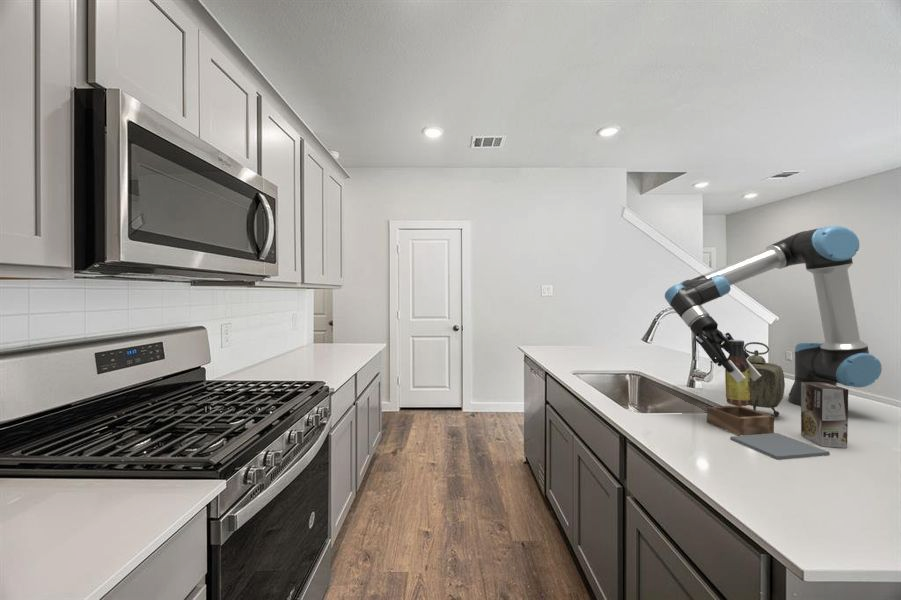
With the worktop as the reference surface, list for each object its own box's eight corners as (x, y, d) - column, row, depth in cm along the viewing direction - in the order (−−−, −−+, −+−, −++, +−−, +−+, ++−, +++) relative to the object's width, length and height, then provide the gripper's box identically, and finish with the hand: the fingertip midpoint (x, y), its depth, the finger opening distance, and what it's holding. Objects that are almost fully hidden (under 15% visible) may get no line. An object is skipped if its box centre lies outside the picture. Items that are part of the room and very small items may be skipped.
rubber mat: (777, 435, 118) (777, 433, 118) (829, 455, 104) (829, 451, 104) (730, 439, 115) (730, 436, 115) (777, 459, 101) (777, 456, 101)
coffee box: (848, 448, 108) (850, 389, 108) (821, 446, 110) (822, 388, 109) (824, 436, 117) (825, 381, 117) (799, 434, 119) (800, 380, 118)
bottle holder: (738, 420, 132) (739, 405, 132) (773, 433, 120) (774, 416, 120) (706, 422, 130) (706, 407, 130) (739, 435, 118) (739, 418, 118)
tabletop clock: (784, 416, 136) (785, 343, 135) (780, 422, 130) (781, 345, 129) (733, 407, 146) (734, 339, 146) (727, 412, 140) (727, 341, 140)
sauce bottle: (754, 407, 121) (754, 341, 120) (731, 406, 122) (731, 341, 122) (743, 401, 127) (743, 339, 127) (721, 400, 129) (721, 339, 128)
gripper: (712, 327, 142) (761, 383, 127) (671, 330, 136) (718, 389, 121) (727, 313, 137) (780, 369, 122) (685, 315, 131) (736, 375, 116)
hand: (749, 379), depth 121 cm, fingers closed on sauce bottle, 6 cm apart
